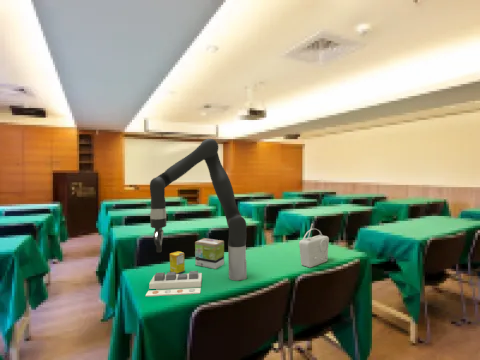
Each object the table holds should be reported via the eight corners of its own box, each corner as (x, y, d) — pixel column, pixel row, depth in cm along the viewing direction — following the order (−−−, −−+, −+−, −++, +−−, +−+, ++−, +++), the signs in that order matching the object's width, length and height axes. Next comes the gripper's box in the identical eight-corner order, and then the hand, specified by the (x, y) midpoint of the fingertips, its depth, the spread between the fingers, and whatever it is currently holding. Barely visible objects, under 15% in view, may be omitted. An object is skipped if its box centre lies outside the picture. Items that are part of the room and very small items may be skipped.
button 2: (187, 279, 140) (187, 273, 140) (186, 282, 136) (186, 276, 136) (178, 279, 140) (178, 274, 140) (177, 283, 136) (177, 277, 135)
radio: (310, 269, 154) (309, 225, 154) (298, 266, 161) (298, 223, 160) (331, 261, 168) (331, 221, 167) (320, 258, 175) (319, 219, 174)
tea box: (194, 265, 164) (194, 241, 164) (204, 260, 173) (204, 237, 173) (215, 269, 157) (215, 244, 157) (224, 264, 166) (224, 240, 166)
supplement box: (178, 269, 158) (177, 250, 158) (185, 271, 154) (184, 252, 154) (169, 272, 153) (169, 253, 153) (176, 275, 150) (176, 255, 149)
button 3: (176, 277, 140) (175, 271, 139) (174, 280, 135) (174, 274, 135) (167, 278, 139) (167, 272, 139) (166, 281, 135) (166, 275, 135)
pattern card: (200, 288, 131) (200, 287, 131) (200, 293, 126) (200, 292, 126) (148, 291, 129) (148, 290, 129) (145, 296, 124) (145, 295, 124)
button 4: (164, 278, 139) (164, 272, 139) (163, 281, 135) (163, 275, 135) (156, 278, 139) (156, 272, 139) (154, 281, 134) (154, 275, 134)
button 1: (198, 276, 141) (198, 270, 140) (197, 279, 136) (197, 273, 136) (189, 277, 140) (189, 271, 140) (189, 280, 136) (188, 274, 136)
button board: (202, 278, 144) (201, 272, 144) (200, 287, 133) (200, 281, 133) (154, 280, 142) (154, 275, 142) (149, 289, 131) (149, 283, 131)
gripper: (163, 219, 130) (164, 255, 130) (168, 215, 143) (168, 248, 143) (147, 219, 129) (148, 256, 129) (153, 215, 142) (154, 248, 143)
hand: (158, 251), depth 136 cm, fingers closed
